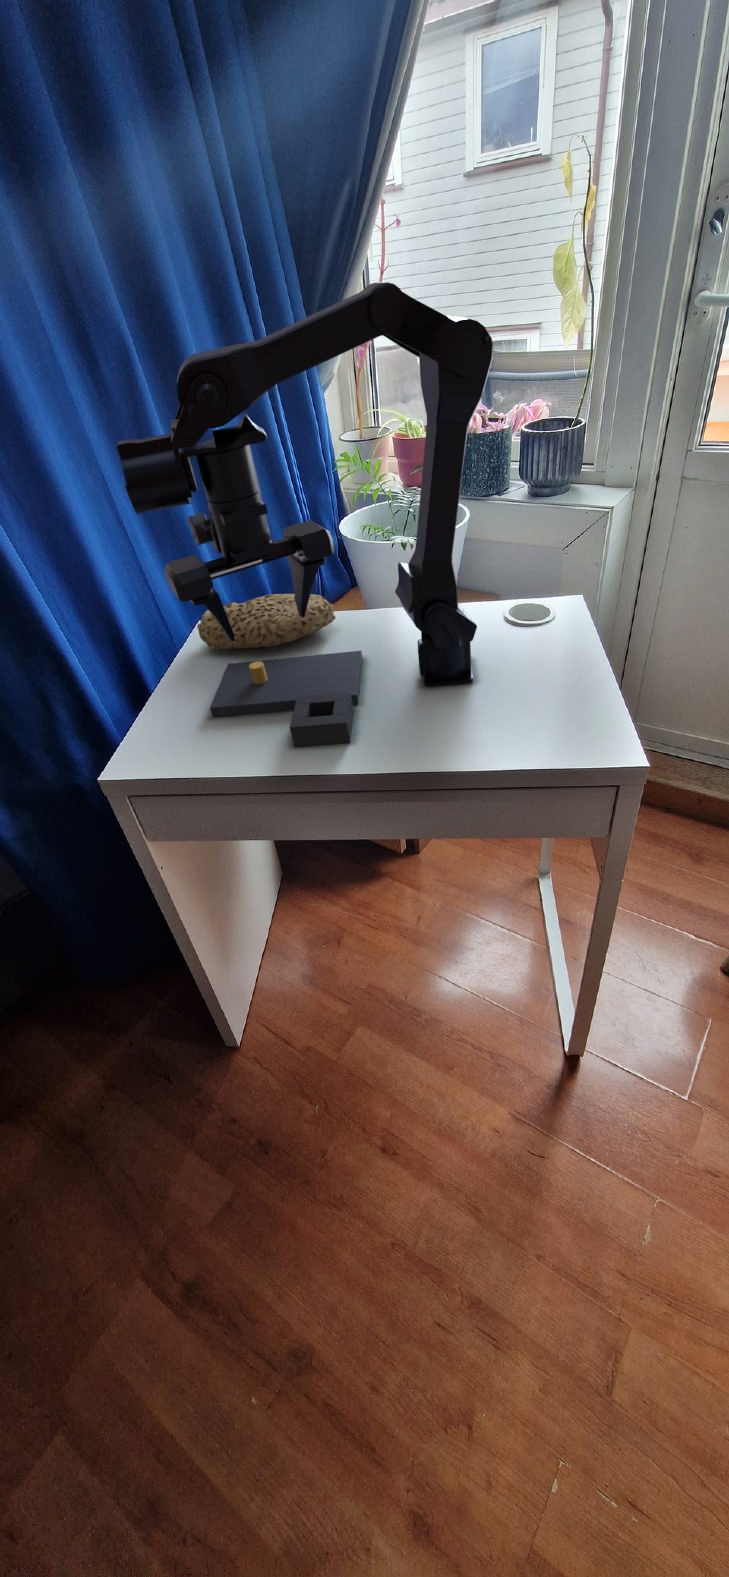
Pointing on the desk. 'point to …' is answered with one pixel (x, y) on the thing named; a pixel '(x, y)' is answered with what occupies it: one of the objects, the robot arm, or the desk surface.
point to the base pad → (285, 682)
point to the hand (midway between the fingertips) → (267, 628)
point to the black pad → (322, 719)
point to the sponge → (266, 621)
